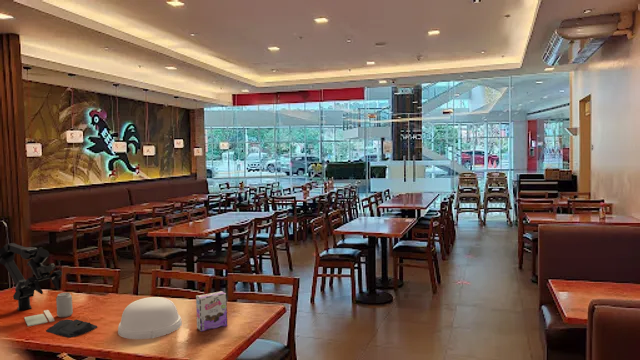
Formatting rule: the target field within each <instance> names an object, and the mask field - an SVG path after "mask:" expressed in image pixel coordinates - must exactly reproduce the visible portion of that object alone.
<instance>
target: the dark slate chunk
mask: <svg viewBox="0 0 640 360" xmlns="http://www.w3.org/2000/svg"><path fill="white" fill-rule="evenodd" d="M97 328H98V326H97V325H95V324H93V323H91V322H87V321H84V320H79V319H67V318H66V319H61V320H59V321H58V322H56V323H54V324H53V325H52V326H50V327H48V328H47V329H46V330H45V332H46V333H50V334H52V335H57V336H60V337H65V338H68V339H69V338H71V339H72V338H76V337H79V336H82V335H84V334H88V333H90V332H92V331H93V330H95V329H97Z"/></svg>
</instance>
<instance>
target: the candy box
mask: <svg viewBox="0 0 640 360" xmlns="http://www.w3.org/2000/svg"><path fill="white" fill-rule="evenodd" d="M195 304H196V305H195V306H196V307H195V308H196V328H197V330H198V331H200V332H204V331H209V330H213V329H219V328H222V327H227V326H228V310H227V309H228V308H227V307H228V306H227V293H226V292H224V291H222V290H220V291H216V292H210V293H206V294H205V293H203V294H200V295H198V294H197V295H195Z"/></svg>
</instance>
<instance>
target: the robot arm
mask: <svg viewBox="0 0 640 360" xmlns="http://www.w3.org/2000/svg"><path fill="white" fill-rule="evenodd" d="M15 254H16V255H19V256H20V258H22V259H24V260H25V261H26V260H28V261H27V264H26V265H27V267H30V269H31V270H32V272H31V273H32V275H35V276H31V277H27V278H26V279H25V278H24V275H23V274H22V272H21V270H20V269H19V267H18V266H17V264H16V262H15V260H14V259H15ZM49 256H50V252H49V250H47V249H44V248H43V247H39V248H37V247H34V246H32V247H31V246H30V247H27V246H23V245H19V244H17V243H15V242H11V243H6V244H5V245H3V247H1V248H0V264H1V265H3V266H4V267H5V269H6V270H7V272H8V274H9V276H10V277H11V279H12V281H13V283H14V284H15V289H14V290H15V292H14V294H13V296H12V297H13V300H14V301H17V303H18V304H17V306H18V307H17V308H16V309H17V311H18V312H20V311H26V310H31V309H32V305H31V299H30V298H32V297H34V295H35V291H36V292H37V293H39V294H41V295H43V294H44V292H43V289H42V288H41V286H40V284H39V282H41V281H44V280H49V279H50V280H51V284H53V286H54V288H55V289H57V290H59V289H60V282H59V281H60V280H59V279H60V277H62V275H63V272H62V270H60V269H58V270H55V269H56V264H55V263H50V264H48V265H44V262H46V260H47V259H48V258H49ZM51 272H52V273H51Z"/></svg>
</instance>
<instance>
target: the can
mask: <svg viewBox="0 0 640 360" xmlns="http://www.w3.org/2000/svg"><path fill="white" fill-rule="evenodd" d="M55 301H56V315H57V317H58V318H68V317H70V316H72V314H73V313H74V312H73V311H74V310H73V296H72V294H71V292H61V293H58V294H57V296H56V300H55Z"/></svg>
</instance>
